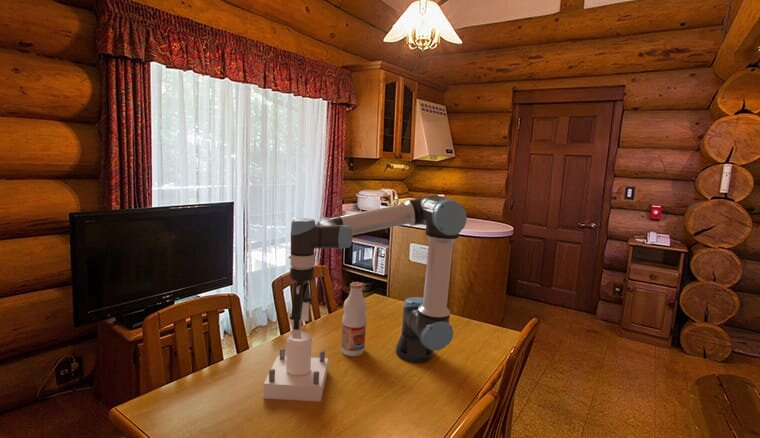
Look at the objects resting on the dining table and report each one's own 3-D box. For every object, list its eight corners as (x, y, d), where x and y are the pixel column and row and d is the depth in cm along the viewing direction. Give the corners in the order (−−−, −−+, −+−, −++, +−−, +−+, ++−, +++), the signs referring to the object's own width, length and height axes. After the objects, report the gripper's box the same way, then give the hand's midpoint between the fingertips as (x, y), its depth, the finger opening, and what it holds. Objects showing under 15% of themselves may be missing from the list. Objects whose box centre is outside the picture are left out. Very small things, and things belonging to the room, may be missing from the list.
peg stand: (327, 371, 143) (328, 349, 142) (320, 401, 126) (321, 376, 124) (277, 368, 143) (278, 346, 142) (263, 398, 125) (264, 373, 124)
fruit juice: (347, 343, 165) (350, 278, 161) (367, 348, 162) (372, 282, 158) (336, 353, 157) (340, 285, 152) (358, 359, 153) (362, 289, 149)
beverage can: (305, 378, 129) (306, 343, 127) (281, 374, 130) (282, 339, 129) (314, 366, 137) (315, 333, 135) (291, 362, 138) (293, 329, 136)
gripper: (298, 256, 140) (296, 313, 144) (281, 277, 116) (280, 346, 119) (319, 257, 140) (317, 314, 144) (307, 279, 116) (305, 347, 119)
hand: (300, 328), depth 131 cm, fingers open, 13 cm apart
